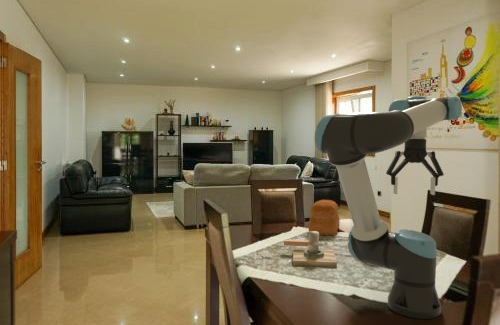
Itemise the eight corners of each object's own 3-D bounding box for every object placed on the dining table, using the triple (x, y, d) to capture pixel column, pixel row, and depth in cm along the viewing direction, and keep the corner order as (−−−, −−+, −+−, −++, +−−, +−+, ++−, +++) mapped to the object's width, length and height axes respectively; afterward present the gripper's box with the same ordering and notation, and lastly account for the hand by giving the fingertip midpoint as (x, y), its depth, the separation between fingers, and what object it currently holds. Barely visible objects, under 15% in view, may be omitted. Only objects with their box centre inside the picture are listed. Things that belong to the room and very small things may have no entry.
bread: (340, 226, 231) (340, 198, 230) (335, 236, 207) (336, 205, 206) (314, 224, 236) (314, 197, 235) (307, 234, 212) (307, 203, 211)
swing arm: (317, 244, 176) (317, 238, 176) (318, 247, 172) (318, 241, 172) (283, 243, 177) (283, 237, 177) (283, 245, 173) (283, 240, 173)
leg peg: (318, 253, 168) (318, 231, 168) (318, 256, 164) (319, 233, 163) (308, 253, 169) (308, 230, 168) (308, 256, 164) (308, 233, 164)
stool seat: (336, 267, 156) (336, 258, 156) (292, 265, 159) (292, 256, 158) (333, 254, 174) (333, 246, 174) (293, 252, 176) (293, 244, 176)
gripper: (446, 138, 146) (444, 193, 147) (379, 138, 149) (377, 192, 150) (454, 138, 139) (452, 196, 140) (383, 138, 142) (382, 194, 143)
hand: (413, 194), depth 145 cm, fingers open, 13 cm apart
